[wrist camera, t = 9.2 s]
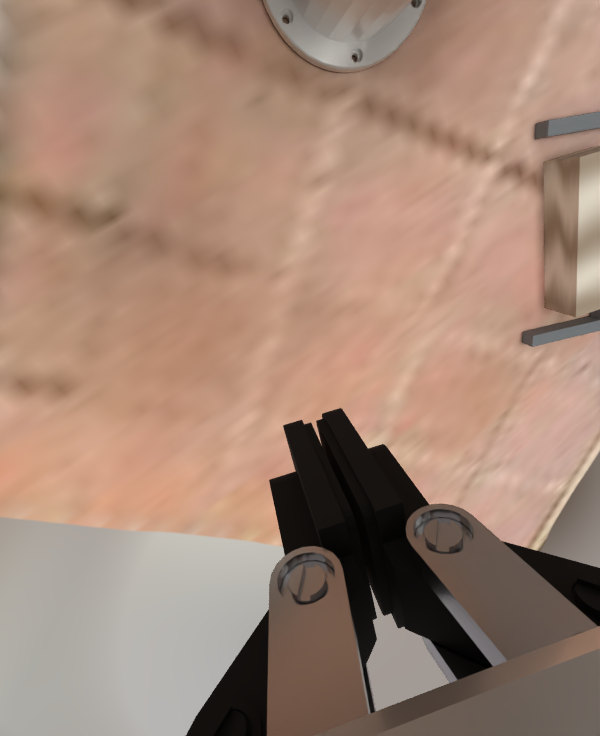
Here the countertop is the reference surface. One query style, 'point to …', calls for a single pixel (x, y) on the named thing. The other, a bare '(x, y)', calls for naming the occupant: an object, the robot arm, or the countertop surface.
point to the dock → (596, 320)
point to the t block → (572, 232)
